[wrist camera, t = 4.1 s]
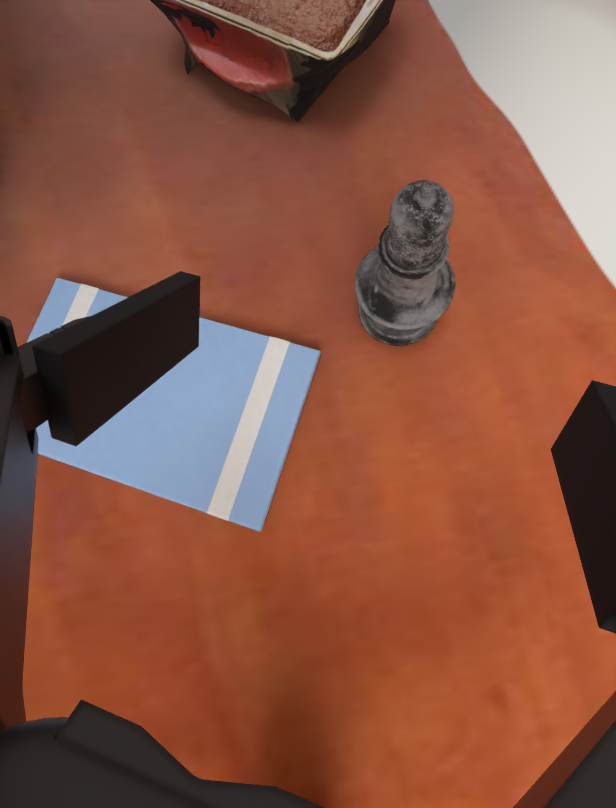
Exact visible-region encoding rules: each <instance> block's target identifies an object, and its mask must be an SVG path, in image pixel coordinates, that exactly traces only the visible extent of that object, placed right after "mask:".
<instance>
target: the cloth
mask: <svg viewBox="0 0 616 808" xmlns="http://www.w3.org/2000/svg"><path fill="white" fill-rule="evenodd" d="M126 298H128V297H125V296H122V295H118V294H114V293H111V292H107V291H104V290H100V289H99V288H95V287H92V286H88V285H84V284H79V283H75V282H71V281H68V280H64V279H61V278H56V281H55V283H54V285H53V287H52V289H51V291H50V293H49V296H48V298H47V300H46V302H45V304H44V306H43V308H42V311H41V313H40V315H39V317H38V319H37V321H36V323H35V325H34V328H33V330H32V332H31V334H30V336H29V338H28V340H27V343H28V342H30V341H32V340H34V339H36V338H38V337H40V336H42V335H44V334H46V333H48V334H49V332H50V331H52V330H54V329H56V328H60V327H61V326H62V325H64V324H66V323H68V322H71V321H73V320H75V319H79V318H84V317H88V316H92V315H94V314H96V313H98V312H100V311H102V310H104V309H106V308H108V307H110V306H112V305H114V304H116V303H118V302H120V301H122V300H124V299H126ZM320 355H321V353H320V351H319V350H316V349H312V348H309V347H305V346H301V345H298V344H294V343H291V342H289V341H286V340H282V339H279V338H275V337H271V336H270V337H269V336H265V335H262V334H258V333H255V332H251V331H247V330H244V329H240V328H237V327H233V326H229V325H226V324H222V323H219V322H215V321H212V320H208V319H204V318H201V317H199V347H198V348H196V349H195V350H194V351H193V352H191V353H190V354H189V355H188V356H187V357H185V358H184V359H183V360H182V361H180V362H179V363H178V364H177V365H176V366H174V367H173V368H172V369H171V370H169V371H168V372H167V373H166V374H165V375H163V376H162V377H161V378H160V379H159V380H157V381H156V382H155V383H154V384H152V385H151V386H150V387H149V388H148V389H146V390H145V391H144V392H143V393H141V394H140V395H139V396H138V397H137V398H135V399H134V400H133V401H132V402H130V403H129V404H128V405H127V406H126V407H124V408H123V409H122V410H121V411H119V412H118V413H117V414H116V415H115V416H113V417H112V418H111V419H110V420H108V421H107V422H106V423H105V424H104V425H102V426H101V427H100V428H99V429H97V430H96V431H95V432H94V433H93V434H91V435H90V436H89V437H88V438H86V439H85V440H84V441H83V442H82V443H80V444H79V445H78V446H77V447H76V446H73V445H70V444H67V443H64V442H61V441H59V440H56V439H53V438H51V433H50V429H49V424H48V420H47V421H46V422H44V423H43V424H41V425H40V426H38V427H37V428H36V430H37V434H38V438H39V441H38V454H40V455H43V456H46V457H49V458H51V459H54V460H57V461H60V462H63V463H66V464H68V465H71V466H74V467H77V468H80V469H83V470H86V471H88V472H91V473H94V474H97V475H100V476H103V477H105V478H108V479H111V480H114V481H117V482H120V483H122V484H125V485H128V486H131V487H134V488H137V489H140V490H142V491H145V492H148V493H151V494H154V495H157V496H159V497H162V498H165V499H168V500H171V501H174V502H176V503H179V504H182V505H185V506H188V507H191V508H194V509H196V510H199V511H202V512H205V513H207V514H210V515H213V516H215V517H218V518H221V519H224V520H227V521H231V522H233V523H236V524H239V525H242V526H245V527H248V528H250V529H253V530H256V531H262V529H263V526H264V523H265V520H266V517H267V514H268V511H269V508H270V505H271V502H272V499H273V496H274V493H275V490H276V487H277V484H278V481H279V478H280V475H281V472H282V469H283V466H284V463H285V460H286V457H287V454H288V451H289V448H290V445H291V442H292V439H293V436H294V433H295V430H296V427H297V424H298V421H299V418H300V415H301V412H302V409H303V406H304V403H305V400H306V397H307V394H308V391H309V388H310V385H311V382H312V379H313V376H314V373H315V370H316V367H317V364H318V361H319V358H320Z"/></svg>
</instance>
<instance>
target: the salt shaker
mask: <svg viewBox="0 0 616 808" xmlns="http://www.w3.org/2000/svg"><path fill="white" fill-rule="evenodd" d="M453 213H454V208H453V201H452V198H451V196H450V194H449V193H448V192H447V190H446V189H445V188H443V187H442V186H441V185H439V184H438V183H435V182H433V181H427V180H421V181H416V182H413V183H410V184H408V185H406V186H405V187H403V188H402V189H401V190H400V191H399V192H398V193H397V195H396V197H395V198H394V200H393V202H392V205H391V210H390V217H389V224H388V225H387V226H386V228H385V229H384V230H383V232H382V234H381V235H380V238H379V243H378V246H377V247H375V248H374V249H372V250H371V251H370V252H369V253H368V254H367V255H366V256H365V257H364V258H363V260H362V261H361V263H360V265H359V267H358V269H357V272H356V277H355V293H356V296H357V299H358V302H359V317H360V320H361V323H362V325H363V326H364V328H365V329H366V331H367V332H368V333H369V334H370V335H371V336H372V337H374V338H375V339H376V340H378V341H380V342H383V343H385V344H389V345H394V346H400V345H408V344H412V343H415V342H417V341H419V340H421V339H422V338H424V337H425V336H426V335H427V334H428V333H429V332H430V331H431V330H432V329H433V327H434V325H435V323H436V321H437V319H438V318H439V317H440V316H441V315H442V314H443V313H444V312H445V311H446V310H447V308H448V307H449V305H450V303H451V301H452V299H453V296H454V291H455V276H454V272H453V269H452V267H451V265H450V262H449V261H448V260H447V259H446V258H447V256H448V251H449V241H448V237H447V233H448V231H449V228H450V225H451V222H452V219H453Z"/></svg>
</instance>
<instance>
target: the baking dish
mask: <svg viewBox="0 0 616 808" xmlns="http://www.w3.org/2000/svg"><path fill="white" fill-rule="evenodd" d="M150 1H151V2H153V3H154V4H155V5H156V6H157V7H158V8H159V9H160V10H161V11H162V12H163V13H164V14H165V15H166V16H167V18H168V19H169V20H170V21H171V23H172V24H173V25H174V26H175V27H176V29H177V30H178V31H179V32H180V34H181V35H182V38H183V40H184V43H185V45H186V52H185V69H186V71H187V74H188V73H189V72H190V70H191V69H192V68H193V66H194V65H197V64H199V63H204V65H205V66H206V68H207V69H208V70H209V71H211V72H212V73H214V74H215V75H217V76H218V77H219V78H221V79H222V80H223V81H224V82H226V83H227V84H228V85H230V86H233V87H236V88H239V89H241V90H243V91H246V92H248V93H250V94H252V95H254V96H256V97H258V98H260V99H262V100H264V101H266V102H269V103H271V104H273V105H275V106H276V107H278V108H279V109H280V110H282V111H283V112H284V113H286V114H287V115H288V116H290V117H291V118H292V119H294V120H295V121H296V122H298V121H299V120H300V119H301V117H302V116H303V115H304V114H305V112H306V111H307V110H308V109H309V108H310V106H311V105H312V104H313V103H314V101H315V100H316V99H317V98H318V97H319V95H320V94H321V93H322V92H323V90H324V89H325V88H326V87H327V86H328V84H329V83H330V82H331V81H332V80H333V78H334V77H335V76H336V75H337V73H338V72H339V71H340V70H341V69H342V68H343V67H344V66H345V65H347V64H348V63H349V62H350V61H352V60H353V59H354V58H355V57H357V56H358V55H359V54H360V53H362V52H363V51H364V50H365V49H367V48H368V47H369V46H370V44H371V43H372V42H373V41H374V40H375V39H376V37H377V36H378V35H379V34H380V33H381V31H382V30H383V29H384V28H385V27H386V26H387V24H388V23H389V18H390V15H391V12H392V9H393V6H394V3H395V0H150Z"/></svg>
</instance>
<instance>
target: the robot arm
mask: <svg viewBox="0 0 616 808" xmlns="http://www.w3.org/2000/svg"><path fill="white" fill-rule="evenodd" d="M199 312H200V276H196V275H193V274H189V273H185V272H181V271H180V272H178V273H176V274H174V275H172V276H170V277H168V278H166V279H164V280H162V281H160V282H158V283H156V284H154V285H152V286H150V287H148V288H146V289H144V290H142V291H140V292H138V293H136V294H134V295H132V296H130V297H128V298H126V299H124V300H122V301H120V302H118V303H116V304H114V305H112V306H110V307H108V308H106V309H104V310H102V311H100V312H98V313H96V314H94V315H92V316H88V317H84V318H79V319H75V320H73V321H71V322H68V323H66V324H64V325H62V326H61V327H60V328H56V329H54V330H52V331H50V332H49V334H48V333H46V334H44V335H42V336H40V337H38V338H36V339H34V340H32V341H30V342H28V343H25V344H23V345H21V346H19V347H17V344H16V340H15V335H14V331H13V327H12V323H11V321H10V320H9V319H7V318H5V317H2V316H0V808H323V807H321V806H318V805H316V804H314V803H312V802H310V801H307V800H305V799H303V798H301V797H298V796H296V795H294V794H292V793H289V792H287V791H285V790H283V789H280V788H278V787H275V786H264V785H254V784H243V783H232V782H221V781H211V780H203V779H199V778H197V777H195V776H194V775H193V774H191V773H190V772H189V771H188V770H187V769H186V768H185V767H184V766H183V765H182V764H181V763H180V762H179V761H177V760H176V759H175V758H174V757H173V756H172V755H171V754H170V753H169V752H168V751H167V750H166V749H165V748H164V747H163V746H162V745H161V744H159V743H158V742H157V741H156V740H155V739H154V738H153V737H152V736H151V735H150V734H149V733H148V732H147V731H146V730H145V729H144V728H143V727H141V726H139V725H137V724H135V723H133V722H131V721H128V720H126V719H124V718H122V717H119V716H117V715H115V714H113V713H110V712H108V711H106V710H104V709H101V708H99V707H97V706H95V705H93V704H90V703H88V702H86V701H84V700H80V702H79V703H78V705H77V706H76V708H75V709H74V711H73V712H72V714H71V715H70V717H69V718H67V717H59V718H43V719H38V720H33V721H27V722H26V717H25V708H24V700H23V689H22V679H23V663H24V648H25V633H26V618H27V604H28V589H29V574H30V559H31V545H32V530H33V515H34V500H35V486H36V471H37V456H38V441H39V438H38V434H37V430H36V428H37V427H38V426H40V425H41V424H43V423H44V422H46V421H47V420H48V424H49V429H50V433H51V438H53V439H56V440H59V441H61V442H64V443H67V444H70V445H73V446H76V447H77V446H78V445H79V444H80V443H82V442H83V441H84V440H85V439H86V438H88V437H89V436H90V435H91V434H93V433H94V432H95V431H96V430H97V429H99V428H100V427H101V426H102V425H104V424H105V423H106V422H107V421H108V420H110V419H111V418H112V417H113V416H115V415H116V414H117V413H118V412H119V411H121V410H122V409H123V408H124V407H126V406H127V405H128V404H129V403H130V402H132V401H133V400H134V399H135V398H137V397H138V396H139V395H140V394H141V393H143V392H144V391H145V390H146V389H148V388H149V387H150V386H151V385H152V384H154V383H155V382H156V381H157V380H159V379H160V378H161V377H162V376H163V375H165V374H166V373H167V372H168V371H169V370H171V369H172V368H173V367H174V366H176V365H177V364H178V363H179V362H180V361H182V360H183V359H184V358H185V357H187V356H188V355H189V354H190V353H191V352H193V351H194V350H195V349H196V348H198V347H199ZM551 452H552V456H553V460H554V463H555V467H556V471H557V474H558V478H559V482H560V485H561V489H562V493H563V496H564V500H565V504H566V508H567V511H568V515H569V519H570V522H571V526H572V530H573V533H574V537H575V541H576V545H577V548H578V552H579V556H580V559H581V563H582V567H583V570H584V574H585V578H586V581H587V585H588V589H589V593H590V596H591V600H592V604H593V607H594V611H595V615H596V618H597V622H598V626H599V628H601V629H604V630H607V631H610V632H613V633H616V387H615V386H612V385H608V384H604V383H600V382H597V381H593V380H592V381H591V383H590V385H589V386H588V388H587V390H586V391H585V393H584V395H583V396H582V398H581V400H580V401H579V403H578V405H577V406H576V408H575V410H574V411H573V413H572V415H571V416H570V418H569V420H568V421H567V423H566V425H565V426H564V428H563V430H562V431H561V433H560V435H559V436H558V438H557V440H556V441H555V443H554V445H553V446H552V448H551ZM513 808H616V691H615V692H614V693H613V695H612V696H611V697H610V698H609V699H608V700H607V701H606V703H605V704H604V705H603V706H602V707H601V708H600V709H599V711H598V712H597V713H596V714H595V715H594V716H593V717H592V719H591V720H590V721H589V722H588V723H587V724H586V725H585V726H584V728H583V729H582V730H581V731H580V732H579V733H578V734H577V736H576V737H575V738H574V739H573V740H572V741H571V742H570V744H569V745H568V746H567V747H566V748H565V749H564V750H563V752H562V753H561V754H560V755H559V756H558V757H557V758H556V760H555V761H554V762H553V763H552V764H551V765H550V766H549V767H548V769H547V770H546V771H545V772H544V773H543V774H542V775H541V777H540V778H539V779H538V780H537V781H536V782H535V783H534V785H533V786H532V787H531V788H530V789H529V790H528V791H527V793H526V794H525V795H524V796H523V797H522V798H521V799H520V800H519V802H518V803H517V804H516V805H515V806H514V807H513Z"/></svg>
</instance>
